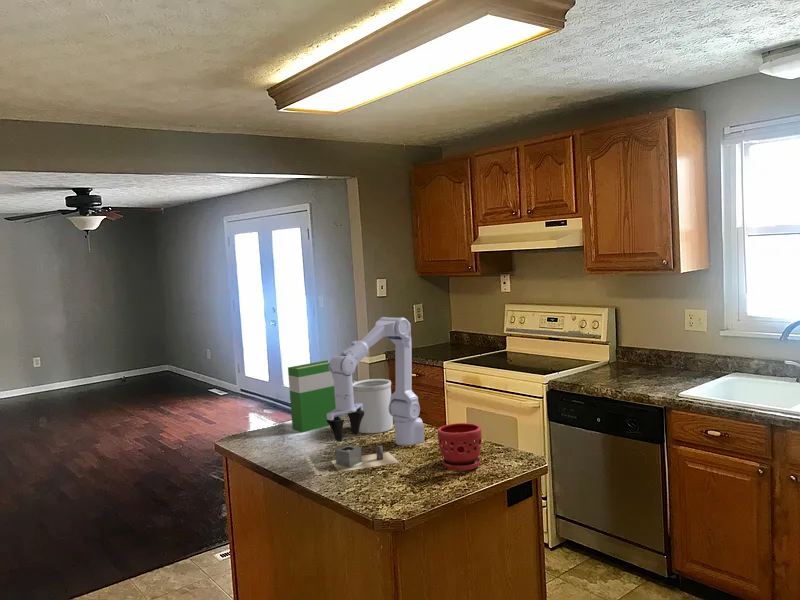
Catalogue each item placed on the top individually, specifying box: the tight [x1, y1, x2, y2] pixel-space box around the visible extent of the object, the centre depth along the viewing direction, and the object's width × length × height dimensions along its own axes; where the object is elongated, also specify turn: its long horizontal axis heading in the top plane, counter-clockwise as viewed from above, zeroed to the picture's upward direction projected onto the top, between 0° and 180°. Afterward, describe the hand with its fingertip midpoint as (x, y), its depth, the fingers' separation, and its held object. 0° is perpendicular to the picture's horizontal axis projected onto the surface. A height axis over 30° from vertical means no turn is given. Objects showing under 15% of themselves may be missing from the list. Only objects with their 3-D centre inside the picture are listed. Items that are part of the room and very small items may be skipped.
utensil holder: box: [353, 378, 394, 434], centre depth 248 cm, size 15×15×18 cm
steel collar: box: [334, 445, 363, 467], centre depth 206 cm, size 6×6×4 cm
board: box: [330, 445, 400, 473], centre depth 207 cm, size 19×12×6 cm, turn 108°
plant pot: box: [437, 422, 483, 472], centre depth 200 cm, size 13×13×12 cm
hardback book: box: [287, 359, 342, 433], centre depth 257 cm, size 18×7×24 cm, turn 129°
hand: (347, 437), depth 205 cm, fingers open, 7 cm apart
